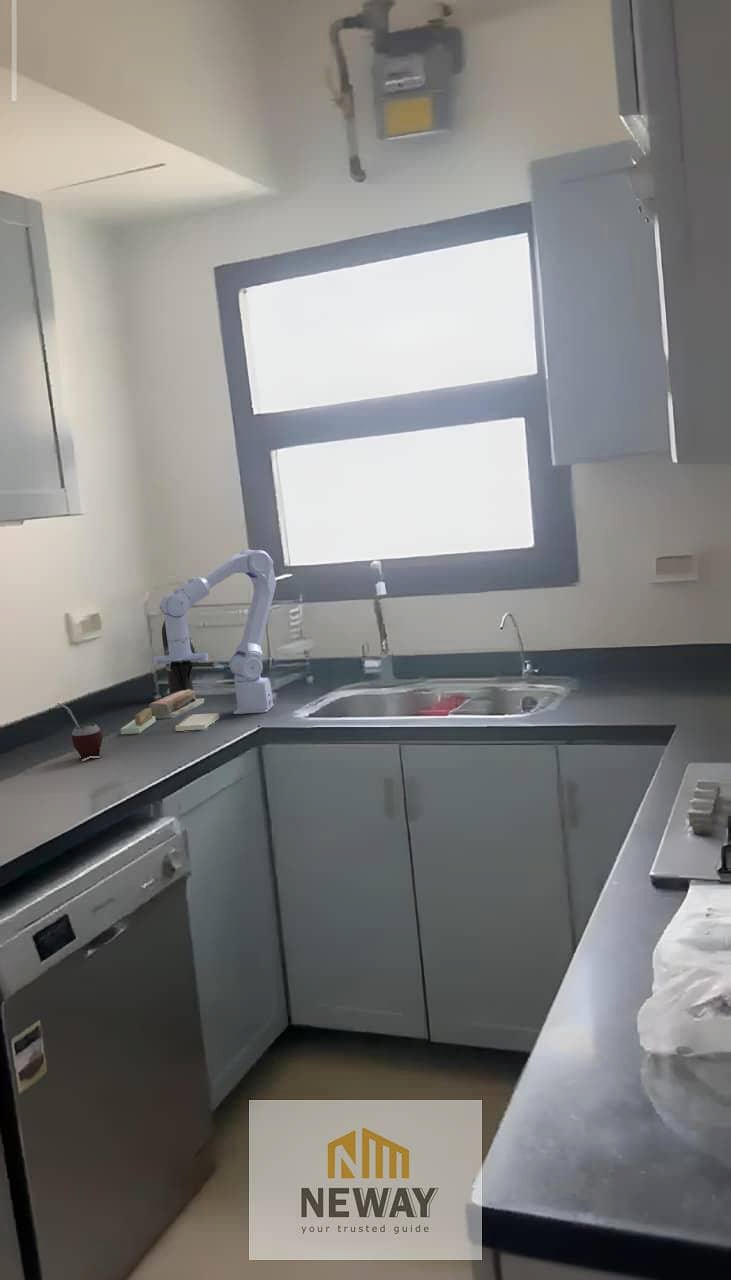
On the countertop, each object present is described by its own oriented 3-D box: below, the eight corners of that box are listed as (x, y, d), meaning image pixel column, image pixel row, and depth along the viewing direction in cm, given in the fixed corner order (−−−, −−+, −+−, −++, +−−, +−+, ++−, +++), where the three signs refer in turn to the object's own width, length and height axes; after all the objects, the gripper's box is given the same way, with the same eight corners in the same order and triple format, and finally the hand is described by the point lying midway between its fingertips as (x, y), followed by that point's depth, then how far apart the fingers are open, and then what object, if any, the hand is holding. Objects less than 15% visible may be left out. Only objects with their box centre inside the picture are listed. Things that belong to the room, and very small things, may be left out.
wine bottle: (167, 697, 321) (154, 599, 316) (190, 693, 324) (177, 595, 319) (173, 701, 315) (160, 601, 310) (196, 696, 318) (183, 597, 312)
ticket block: (219, 718, 286) (218, 712, 286) (205, 730, 275) (204, 724, 274) (191, 720, 288) (190, 714, 288) (175, 731, 276) (175, 725, 276)
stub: (155, 721, 290) (153, 706, 289) (139, 733, 278) (137, 717, 277) (138, 722, 291) (136, 707, 290) (121, 734, 279) (119, 718, 278)
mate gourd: (110, 754, 261) (101, 694, 258) (90, 763, 254) (80, 702, 251) (86, 753, 264) (77, 694, 261) (65, 763, 257) (55, 702, 254)
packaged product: (172, 702, 292) (140, 703, 295) (174, 719, 292) (143, 720, 296) (203, 687, 308) (173, 688, 312) (205, 703, 309) (175, 704, 312)
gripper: (146, 643, 277) (153, 694, 280) (199, 640, 275) (206, 691, 277) (156, 639, 284) (163, 688, 286) (208, 635, 282) (214, 685, 284)
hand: (185, 689), depth 282 cm, fingers closed
